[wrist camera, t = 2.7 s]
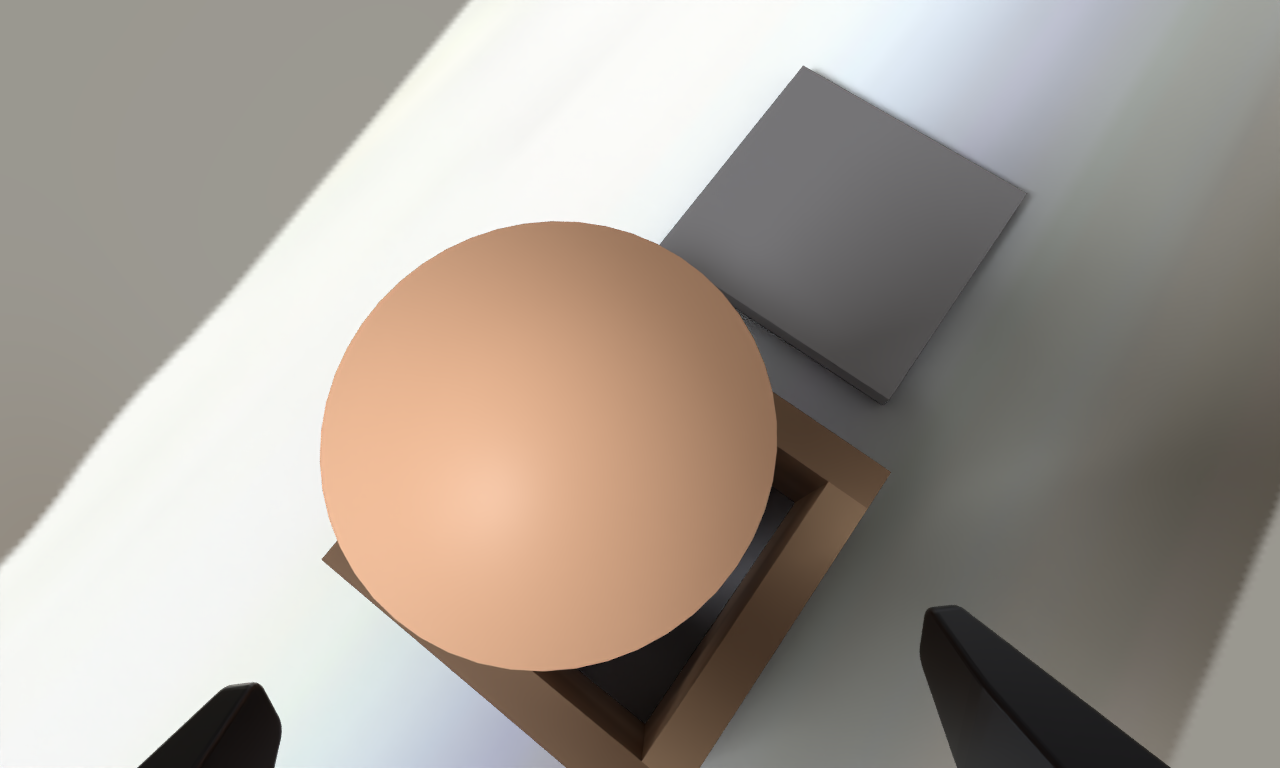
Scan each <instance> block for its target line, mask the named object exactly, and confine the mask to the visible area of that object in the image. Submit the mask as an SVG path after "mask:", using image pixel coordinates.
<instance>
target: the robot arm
mask: <svg viewBox="0 0 1280 768" xmlns="http://www.w3.org/2000/svg"><path fill="white" fill-rule="evenodd" d="M920 660H921V664H922V667H923V671H924V673H925V676H926V679H927V682H928V685H929V688H930V691H931V694H932V697H933V700H934V702H935V705H936V708H937V711H938V714H939V717H940V720H941V723H942V726H943V729H944V731H945V734H946V737H947V740H948V743H949V746H950V749H951V752H952V755H953V758H954V760H955V763H956V766H957V768H1170V767H1169V766H1168V765H1166V764H1165V763H1164V762H1163V761H1161V760H1160V759H1159V758H1157V757H1156V756H1155V755H1153V754H1152V753H1151V752H1149V751H1148V750H1147V749H1146V748H1144V747H1143V746H1142V745H1140V744H1139V743H1138V742H1136V741H1135V740H1134V739H1133V738H1131V737H1130V736H1129V735H1127V734H1126V733H1125V732H1123V731H1122V730H1121V729H1120V728H1118V727H1117V726H1116V725H1114V724H1113V723H1112V722H1110V721H1109V720H1108V719H1107V718H1105V717H1104V716H1103V715H1101V714H1100V713H1099V712H1097V711H1096V710H1095V709H1094V708H1092V707H1091V706H1090V705H1088V704H1087V703H1086V702H1084V701H1083V700H1082V699H1080V698H1079V697H1078V696H1077V695H1075V694H1074V693H1073V692H1071V691H1070V690H1069V689H1067V688H1066V687H1065V686H1064V685H1062V684H1061V683H1060V682H1058V681H1057V680H1056V679H1054V678H1053V677H1052V676H1051V675H1049V674H1048V673H1047V672H1045V671H1044V670H1043V669H1041V668H1040V667H1039V666H1038V665H1036V664H1035V663H1034V662H1032V661H1031V660H1030V659H1028V658H1027V657H1026V656H1025V655H1023V654H1022V653H1021V652H1019V651H1018V650H1017V649H1015V648H1014V647H1013V646H1012V645H1010V644H1009V643H1008V642H1006V641H1005V640H1004V639H1002V638H1001V637H1000V636H998V635H997V634H996V633H995V632H993V631H992V630H991V629H989V628H988V627H987V626H985V625H984V624H983V623H982V622H980V621H979V620H978V619H976V618H975V617H974V616H972V615H971V614H970V613H969V612H967V611H966V610H965V609H963V608H962V607H959V606H957V605H947V606H938V607H931V608H929V609H927V611H926V612H925V616H924V622H923V629H922V636H921V642H920ZM281 733H282V728H281V722H280V719H279V716H278V714H277V713H276V711H275V709H274V707H273V705H272V703H271V701H270V699H269V698H268V696H267V694H266V692H265V690H264V688H263V687H262V686H261V685H260V684H258V683H254V682H252V683H243V684H234V685H229V686H227V687H225V688H223V689H222V690H220V691H219V692H218V693H217V694H216V695H215V696H214V697H213V698H211V699H210V700H209V701H208V702H207V703H206V704H205V705H204V706H203V707H202V708H201V709H200V710H199V711H198V712H196V713H195V714H194V715H193V716H192V717H191V718H190V719H189V720H188V721H187V722H186V723H185V724H184V725H183V726H182V727H180V728H179V729H178V730H177V731H176V732H175V733H174V734H173V735H172V736H171V737H170V738H169V739H168V740H167V741H165V742H164V743H163V744H162V745H161V746H160V747H159V748H158V749H157V750H156V751H155V752H154V753H153V754H152V755H150V756H149V757H148V758H147V759H146V760H145V761H144V762H143V763H142V764H141V765H140V766H139V767H138V768H274V767H275V762H276V758H277V754H278V749H279V745H280V740H281Z"/></svg>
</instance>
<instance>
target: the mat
mask: <svg viewBox="0 0 1280 768" xmlns="http://www.w3.org/2000/svg"><path fill="white" fill-rule="evenodd" d="M1026 194H1027V193H1025V192H1024V191H1022V190H1020V189H1018V188H1017V187H1015V186H1013V185H1011V184H1010V183H1008V182H1006V181H1004V180H1003V179H1001V178H999V177H997V176H996V175H994V174H992V173H990V172H989V171H987V170H985V169H983V168H982V167H980V166H978V165H976V164H975V163H973V162H971V161H969V160H968V159H966V158H964V157H962V156H961V155H959V154H957V153H955V152H954V151H952V150H950V149H948V148H947V147H945V146H943V145H941V144H940V143H938V142H936V141H934V140H933V139H931V138H929V137H927V136H926V135H924V134H922V133H920V132H919V131H917V130H915V129H913V128H912V127H910V126H908V125H906V124H905V123H903V122H901V121H899V120H898V119H896V118H894V117H892V116H891V115H889V114H887V113H885V112H884V111H882V110H880V109H878V108H877V107H875V106H873V105H871V104H870V103H868V102H866V101H864V100H863V99H861V98H859V97H857V96H856V95H854V94H852V93H850V92H849V91H847V90H845V89H843V88H842V87H840V86H838V85H836V84H835V83H833V82H831V81H829V80H828V79H826V78H824V77H822V76H821V75H819V74H817V73H815V72H814V71H812V70H810V69H808V68H807V67H805V66H802V68H801V69H800V70H799V71H798V73H797V74H796V75H795V76H794V78H793V79H792V80H791V81H790V83H789V84H788V85H787V86H786V88H785V89H784V90H783V91H782V93H781V94H780V95H779V96H778V98H777V99H776V100H775V101H774V103H773V104H772V105H771V106H770V108H769V109H768V110H767V111H766V113H765V114H764V115H763V116H762V118H761V119H760V120H759V121H758V123H757V124H756V125H755V126H754V128H753V129H752V130H751V131H750V133H749V134H748V135H747V136H746V138H745V139H744V140H743V141H742V143H741V144H740V145H739V146H738V148H737V149H736V150H735V151H734V153H733V154H732V155H731V156H730V158H729V159H728V160H727V161H726V163H725V164H724V165H723V166H722V168H721V169H720V170H719V171H718V173H717V174H716V175H715V176H714V178H713V179H712V180H711V181H710V183H709V184H708V185H707V186H706V187H705V189H704V190H703V191H702V192H701V194H700V195H699V196H698V197H697V199H696V200H695V201H694V202H693V204H692V205H691V206H690V207H689V209H688V210H687V211H686V212H685V214H684V215H683V216H682V217H681V219H680V220H679V221H678V222H677V224H676V225H675V226H674V227H673V229H672V230H671V231H670V232H669V234H668V235H667V236H666V237H665V239H664V240H663V241H662V242H661V244H660V246H662V247H663V248H665V249H667V250H669V251H670V252H672V253H674V254H676V255H677V256H679V257H681V258H682V259H683V260H685V261H686V262H687V263H689V264H690V265H692V266H693V267H694V268H696V269H697V270H698V271H700V272H701V273H702V274H703V275H704V276H705V277H706V278H707V279H708V280H709V281H710V282H712V283H713V284H714V285H715V286H716V287H717V288H718V289H719V290H720V291H721V292H722V293H723V295H724V296H725V297H726V298H727V300H728V301H729V302H730V303H731V305H732V306H733V307H735V308H736V309H738V310H739V311H741V312H742V313H744V314H745V315H747V316H748V317H750V318H751V319H753V320H754V321H756V322H757V323H759V324H760V325H762V326H763V327H765V328H766V329H768V330H769V331H771V332H772V333H774V334H776V335H777V336H779V337H780V338H782V339H783V340H785V341H786V342H788V343H789V344H791V345H792V346H794V347H795V348H797V349H798V350H800V351H801V352H803V353H804V354H806V355H807V356H809V357H810V358H812V359H813V360H815V361H816V362H818V363H819V364H821V365H823V366H824V367H826V368H827V369H829V370H830V371H832V372H833V373H835V374H836V375H838V376H839V377H841V378H842V379H844V380H845V381H847V382H848V383H850V384H851V385H853V386H854V387H856V388H857V389H859V390H860V391H862V392H863V393H865V394H866V395H868V396H870V397H871V398H873V399H874V400H876V401H877V402H879V403H880V404H882V405H883V404H885V403H886V402H887V401H888V400H889V399H890V398H891V396H892V395H893V393H894V392H895V390H896V389H897V387H898V386H899V384H900V383H901V381H902V380H903V378H904V377H905V375H906V374H907V372H908V371H909V369H910V368H911V366H912V365H913V363H914V362H915V360H916V359H917V357H918V356H919V354H920V353H921V351H922V350H923V348H924V347H925V345H926V344H927V342H928V341H929V339H930V338H931V336H932V335H933V333H934V332H935V330H936V329H937V327H938V326H939V324H940V323H941V321H942V320H943V318H944V317H945V315H946V314H947V312H948V311H949V309H950V308H951V306H952V305H953V303H954V302H955V300H956V299H957V297H958V296H959V294H960V293H961V291H962V290H963V288H964V287H965V285H966V284H967V282H968V281H969V279H970V278H971V276H972V275H973V273H974V272H975V270H976V269H977V267H978V266H979V264H980V263H981V261H982V260H983V258H984V257H985V255H986V254H987V252H988V251H989V249H990V248H991V246H992V245H993V243H994V242H995V240H996V239H997V237H998V236H999V234H1000V233H1001V231H1002V230H1003V228H1004V227H1005V225H1006V224H1007V222H1008V221H1009V219H1010V218H1011V216H1012V215H1013V213H1014V212H1015V210H1016V209H1017V207H1018V206H1019V204H1020V203H1021V201H1022V200H1023V198H1024V197H1025V195H1026Z"/></svg>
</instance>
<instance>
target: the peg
mask: <svg viewBox="0 0 1280 768" xmlns="http://www.w3.org/2000/svg"><path fill="white" fill-rule="evenodd" d="M776 454H777V419H776V412H775V405H774V398H773V392H772V388H771V384H770V381H769V377H768V374H767V370H766V367H765V364H764V361H763V359H762V357H761V354H760V352H759V350H758V347H757V345H756V343H755V340H754V338H753V336H752V335H751V333H750V331H749V330H748V328H747V326H746V325H745V323H744V321H743V320H742V318H741V316H740V315H739V313H738V312H737V311H736V310H735V308H734V307H733V306H732V305H731V303H730V302H729V301H728V300H727V298H726V297H725V296H724V295H723V293H722V292H721V291H720V290H719V289H718V288H717V287H716V286H715V285H714V284H713V283H712V282H710V281H709V280H708V279H707V278H706V277H705V276H704V275H703V274H702V273H701V272H700V271H698V270H697V269H696V268H694V267H693V266H692V265H690V264H689V263H687V262H686V261H685V260H683V259H682V258H681V257H679V256H677V255H676V254H674V253H672V252H670V251H669V250H667V249H665V248H663V247H662V246H660V245H658V244H656V243H654V242H651V241H649V240H646V239H644V238H641V237H639V236H637V235H634V234H632V233H628V232H625V231H621V230H617V229H614V228H610V227H607V226H600V225H594V224H587V223H581V222H556V221H550V222H539V223H527V224H521V225H516V226H511V227H506V228H501V229H497V230H494V231H491V232H488V233H485V234H482V235H478V236H475V237H472V238H470V239H468V240H466V241H463V242H461V243H459V244H457V245H455V246H453V247H450V248H448V249H446V250H444V251H443V252H441V253H440V254H438V255H436V256H435V257H433V258H431V259H430V260H428V261H426V262H425V263H423V264H422V265H420V266H419V267H418V268H417V269H415V270H414V271H413V272H411V273H410V274H409V275H408V276H406V277H405V278H404V279H403V280H401V281H400V282H399V283H398V284H397V285H396V286H395V287H394V288H393V289H392V290H391V291H390V292H389V293H388V294H387V295H386V296H385V297H384V298H383V299H382V300H381V301H380V302H379V303H378V304H377V306H376V307H375V308H374V309H373V311H372V312H371V313H370V314H369V316H368V317H367V318H366V319H365V321H364V322H363V323H362V325H361V326H360V328H359V330H358V331H357V333H356V334H355V336H354V338H353V339H352V341H351V343H350V344H349V346H348V348H347V349H346V352H345V354H344V356H343V358H342V360H341V363H340V365H339V367H338V369H337V371H336V374H335V376H334V379H333V383H332V386H331V389H330V392H329V395H328V399H327V402H326V407H325V413H324V418H323V424H322V430H321V447H320V467H321V478H322V489H323V494H324V498H325V503H326V507H327V511H328V516H329V520H330V522H331V525H332V527H333V530H334V533H335V535H336V538H337V541H338V543H339V546H340V548H341V550H342V551H343V553H344V555H345V557H346V559H347V561H348V562H349V564H350V566H351V568H352V570H353V571H354V573H355V574H356V576H357V577H358V578H359V580H360V581H361V582H362V584H363V585H364V586H365V588H366V589H367V590H368V592H369V593H370V594H371V596H372V597H373V598H374V599H375V600H376V601H377V602H378V603H379V604H380V605H381V606H382V607H383V608H384V609H385V610H386V611H387V612H388V613H389V614H390V615H391V616H392V617H393V618H394V619H395V620H397V621H398V622H400V623H401V624H402V625H404V626H405V627H406V628H408V629H409V630H411V631H412V632H413V633H415V634H416V635H417V636H419V637H420V638H422V639H424V640H426V641H428V642H429V643H431V644H433V645H435V646H437V647H439V648H441V649H443V650H445V651H447V652H448V653H451V654H454V655H457V656H460V657H463V658H465V659H468V660H471V661H474V662H477V663H480V664H485V665H490V666H495V667H500V668H505V669H510V670H528V671H552V670H564V669H575V668H580V667H584V666H588V665H593V664H597V663H602V662H606V661H609V660H612V659H615V658H617V657H620V656H622V655H625V654H628V653H630V652H633V651H636V650H638V649H640V648H642V647H644V646H646V645H647V644H649V643H651V642H653V641H655V640H657V639H658V638H660V637H662V636H664V635H666V634H668V633H669V632H670V631H672V630H673V629H674V628H676V627H677V626H678V625H680V624H681V623H682V622H684V621H685V620H686V619H688V618H689V617H691V616H692V615H693V614H694V613H695V612H696V611H698V610H699V609H700V608H701V607H702V606H703V605H704V604H705V603H706V602H707V601H708V600H709V599H710V598H711V597H712V596H713V595H714V594H715V593H716V592H717V591H718V590H719V588H720V587H721V586H722V585H723V583H724V582H725V581H726V579H727V578H728V577H729V576H730V574H731V573H732V572H733V571H734V569H735V568H736V567H737V565H738V564H739V562H740V560H741V558H742V557H743V555H744V553H745V552H746V550H747V548H748V547H749V545H750V543H751V541H752V540H753V538H754V535H755V533H756V531H757V528H758V526H759V523H760V521H761V519H762V516H763V514H764V511H765V508H766V505H767V501H768V497H769V494H770V490H771V486H772V482H773V477H774V469H775V461H776Z"/></svg>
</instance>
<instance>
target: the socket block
mask: <svg viewBox="0 0 1280 768" xmlns="http://www.w3.org/2000/svg"><path fill="white" fill-rule="evenodd" d="M773 398H774V405H775V412H776V419H777V454H776V461H775V469H774V477H773V482H772V487H774V488H775V489H777V490H778V491H779V492H781V493H782V494H784V495H785V496H786V497H788V498H789V499H791V500H792V501H793V502H795V503H794V505H793V506H792V508H791V509H790V511H789V512H788V514H787V515H786V517H785V518H784V520H783V521H782V523H781V524H780V526H779V527H778V528H777V530H776V531H775V533H774V534H773V536H772V537H771V539H770V540H769V542H768V543H767V545H766V546H765V548H764V549H763V551H762V552H761V554H760V555H759V557H758V558H757V560H756V561H755V562H754V564H753V565H752V567H751V568H750V570H749V571H748V573H747V574H746V576H745V577H744V579H743V580H742V582H741V583H740V585H739V586H738V588H737V589H736V591H735V592H734V594H733V595H732V596H731V598H730V599H729V601H728V602H727V604H726V605H725V607H724V608H723V610H722V611H721V613H720V614H719V616H718V617H717V619H716V620H715V622H714V623H713V625H712V626H711V628H710V629H709V630H708V632H707V633H706V635H705V636H704V638H703V639H702V641H701V642H700V644H699V645H698V647H697V648H696V650H695V651H694V653H693V654H692V656H691V657H690V659H689V660H688V662H687V663H686V665H685V666H684V667H683V669H682V670H681V672H680V673H679V675H678V676H677V678H676V679H675V681H674V682H673V684H672V685H671V687H670V688H669V690H668V691H667V693H666V694H665V696H664V697H663V699H662V700H661V701H660V703H659V704H658V706H657V707H656V709H655V710H654V712H653V713H652V715H651V716H650V718H649V719H648V721H647V722H646V724H644V723H643V722H642V721H640V720H639V719H638V718H637V717H635V716H634V715H633V714H632V713H631V712H629V711H628V710H627V709H626V708H624V707H623V706H622V705H621V704H619V703H618V702H617V701H616V700H615V699H613V698H612V697H611V696H610V695H608V694H607V693H606V692H605V691H603V690H602V689H601V688H600V687H599V686H597V685H596V684H595V683H594V682H592V681H591V680H590V679H589V678H588V677H586V676H585V675H584V674H583V673H581V672H580V671H579V670H578V669H576V668H575V669H564V670H552V671H528V670H510V669H505V668H500V667H495V666H490V665H485V664H480V663H477V662H474V661H471V660H468V659H465V658H463V657H460V656H457V655H454V654H451V653H448V652H447V651H445V650H443V649H441V648H439V647H437V646H435V645H433V644H431V643H429V642H428V641H426V640H424V639H422V638H420V637H419V636H417V635H416V634H415V633H413V632H412V631H411V630H409V629H408V628H406V627H405V626H404V625H402V624H401V623H400V622H398V621H397V620H395V619H394V618H393V617H392V616H391V615H390V614H389V613H388V612H387V611H386V610H385V609H384V608H383V607H382V606H381V605H380V604H379V603H378V602H377V601H376V600H375V599H374V598H373V597H372V596H371V594H370V593H369V592H368V590H367V589H366V588H365V586H364V585H363V584H362V582H361V581H360V580H359V578H358V577H357V576H356V574H355V573H354V571H353V570H352V568H351V566H350V564H349V562H348V561H347V559H346V557H345V555H344V553H343V551H342V550H341V548H340V546H339V543H338V541H337V542H336V543H335V544H334V545H333V546H332V548H331V549H330V550H329V551H328V552H327V554H326V555H325V556H324V557H323V558H322V560H323V561H324V562H325V563H326V564H327V565H328V566H330V567H331V568H332V569H333V570H334V571H335V572H337V573H338V574H339V575H340V576H341V577H343V578H344V579H345V580H346V581H347V582H348V583H350V584H351V585H352V586H353V587H354V588H355V589H357V590H358V591H359V592H360V593H361V594H363V595H364V596H365V597H366V598H367V599H368V600H370V601H371V602H372V603H373V604H374V605H375V606H377V607H378V608H379V609H380V610H381V611H383V612H384V613H385V614H386V615H387V616H388V617H390V618H391V619H392V620H393V621H394V622H396V623H397V624H398V625H399V626H400V627H401V628H403V629H404V630H405V631H406V632H407V633H408V634H410V635H411V636H412V637H413V638H414V639H416V640H417V641H418V642H419V643H420V644H421V645H423V646H424V647H425V648H426V649H427V650H428V651H430V652H431V653H432V654H433V655H434V656H436V657H437V658H438V659H439V660H440V661H441V662H443V663H444V664H445V665H446V666H447V667H448V668H450V669H451V670H452V671H453V672H454V673H456V674H457V675H458V676H459V677H460V678H461V679H463V680H464V681H465V682H466V683H467V684H468V685H470V686H471V687H472V688H473V689H474V690H476V691H477V692H478V693H479V694H480V695H481V696H483V697H484V698H485V699H486V700H487V701H488V702H490V703H491V704H492V705H493V706H494V707H496V708H497V709H498V710H499V711H500V712H501V713H503V714H504V715H505V716H506V717H507V718H508V719H510V720H511V721H512V722H513V723H514V724H516V725H517V726H518V727H519V728H520V729H521V730H523V731H524V732H525V733H526V734H527V735H528V736H530V737H531V738H532V739H533V740H534V741H536V742H537V743H538V744H539V745H540V746H541V747H543V748H544V749H545V750H546V751H547V752H549V753H550V754H551V755H552V756H553V757H554V758H556V759H557V760H558V761H559V762H560V763H561V764H563V765H564V766H565V767H566V768H700V766H701V765H702V763H703V762H704V760H705V759H706V757H707V756H708V754H709V753H710V751H711V749H712V748H713V746H714V745H715V743H716V742H717V740H718V739H719V737H720V736H721V734H722V732H723V731H724V729H725V728H726V726H727V725H728V723H729V722H730V720H731V719H732V717H733V715H734V714H735V712H736V711H737V709H738V708H739V706H740V705H741V703H742V702H743V700H744V699H745V697H746V695H747V694H748V692H749V691H750V689H751V688H752V686H753V685H754V683H755V682H756V680H757V678H758V677H759V675H760V674H761V672H762V671H763V669H764V668H765V666H766V665H767V663H768V661H769V660H770V658H771V657H772V655H773V654H774V652H775V651H776V649H777V648H778V646H779V645H780V643H781V641H782V640H783V638H784V637H785V635H786V634H787V632H788V631H789V629H790V628H791V626H792V624H793V623H794V621H795V620H796V618H797V617H798V615H799V614H800V612H801V611H802V609H803V607H804V606H805V604H806V603H807V601H808V600H809V598H810V597H811V595H812V594H813V592H814V591H815V589H816V587H817V586H818V584H819V583H820V581H821V580H822V578H823V577H824V575H825V574H826V572H827V570H828V569H829V567H830V566H831V564H832V563H833V561H834V560H835V558H836V557H837V555H838V553H839V552H840V550H841V549H842V547H843V546H844V544H845V543H846V541H847V540H848V538H849V537H850V535H851V533H852V532H853V530H854V529H855V527H856V526H857V524H858V523H859V521H860V520H861V518H862V516H863V515H864V513H865V512H866V510H867V509H868V507H869V506H870V504H871V503H872V501H873V500H874V498H875V496H876V495H877V493H878V492H879V490H880V489H881V487H882V486H883V484H884V483H885V481H886V479H887V478H888V476H889V475H890V473H891V472H890V471H889V470H887V469H886V468H884V467H883V466H881V465H880V464H878V463H877V462H875V461H874V460H872V459H871V458H870V457H868V456H867V455H865V454H864V453H862V452H861V451H859V450H858V449H856V448H855V447H853V446H852V445H850V444H849V443H847V442H846V441H844V440H843V439H841V438H840V437H839V436H837V435H836V434H834V433H833V432H831V431H830V430H828V429H827V428H825V427H824V426H822V425H821V424H819V423H818V422H816V421H815V420H813V419H812V418H811V417H809V416H808V415H806V414H805V413H803V412H802V411H800V410H799V409H797V408H796V407H794V406H793V405H791V404H790V403H788V402H787V401H785V400H784V399H783V398H781V397H780V396H778V395H777V394H775V393H774V392H773Z"/></svg>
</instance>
